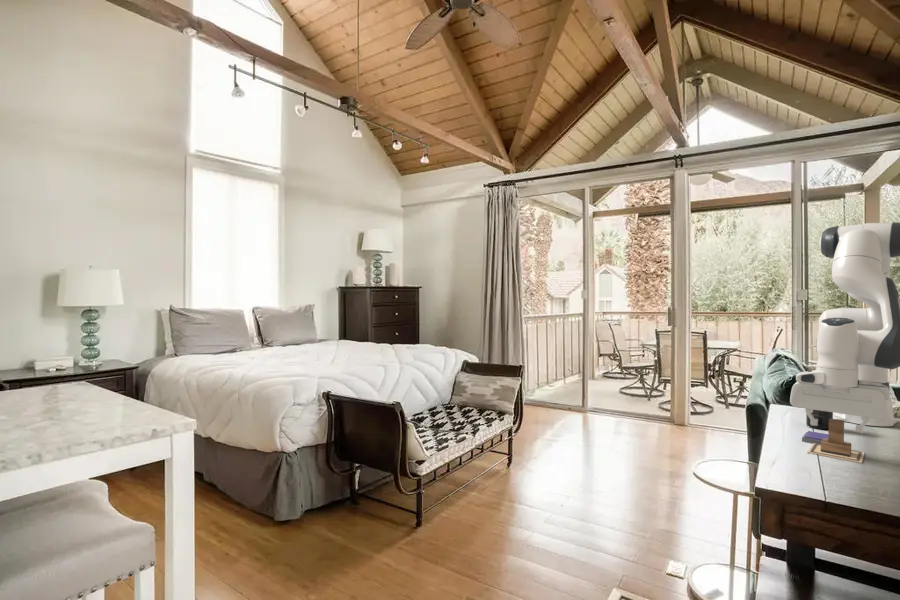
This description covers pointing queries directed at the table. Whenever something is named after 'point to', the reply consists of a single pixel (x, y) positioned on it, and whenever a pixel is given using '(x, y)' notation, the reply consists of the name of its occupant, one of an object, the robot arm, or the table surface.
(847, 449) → the stamp
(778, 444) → the table surface
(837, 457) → the marked card
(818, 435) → the ink pad
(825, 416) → the supplement bottle
